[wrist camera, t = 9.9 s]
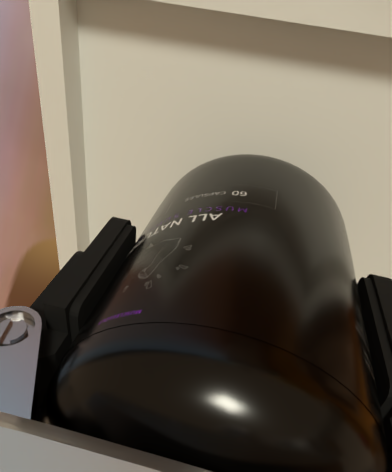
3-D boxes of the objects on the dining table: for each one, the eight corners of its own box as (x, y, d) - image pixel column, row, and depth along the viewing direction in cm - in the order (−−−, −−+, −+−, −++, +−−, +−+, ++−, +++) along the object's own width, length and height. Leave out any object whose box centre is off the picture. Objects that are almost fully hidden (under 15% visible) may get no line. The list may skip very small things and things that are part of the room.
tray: (573, 20, 11) (625, 24, 9) (364, 364, 20) (371, 397, 18) (57, -54, 12) (21, -61, 11) (82, 295, 21) (65, 320, 20)
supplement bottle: (199, 112, 12) (-231, 664, 2) (386, 202, 12) (767, 1056, 2) (139, 260, 16) (-107, 690, 6) (282, 325, 16) (266, 838, 6)
